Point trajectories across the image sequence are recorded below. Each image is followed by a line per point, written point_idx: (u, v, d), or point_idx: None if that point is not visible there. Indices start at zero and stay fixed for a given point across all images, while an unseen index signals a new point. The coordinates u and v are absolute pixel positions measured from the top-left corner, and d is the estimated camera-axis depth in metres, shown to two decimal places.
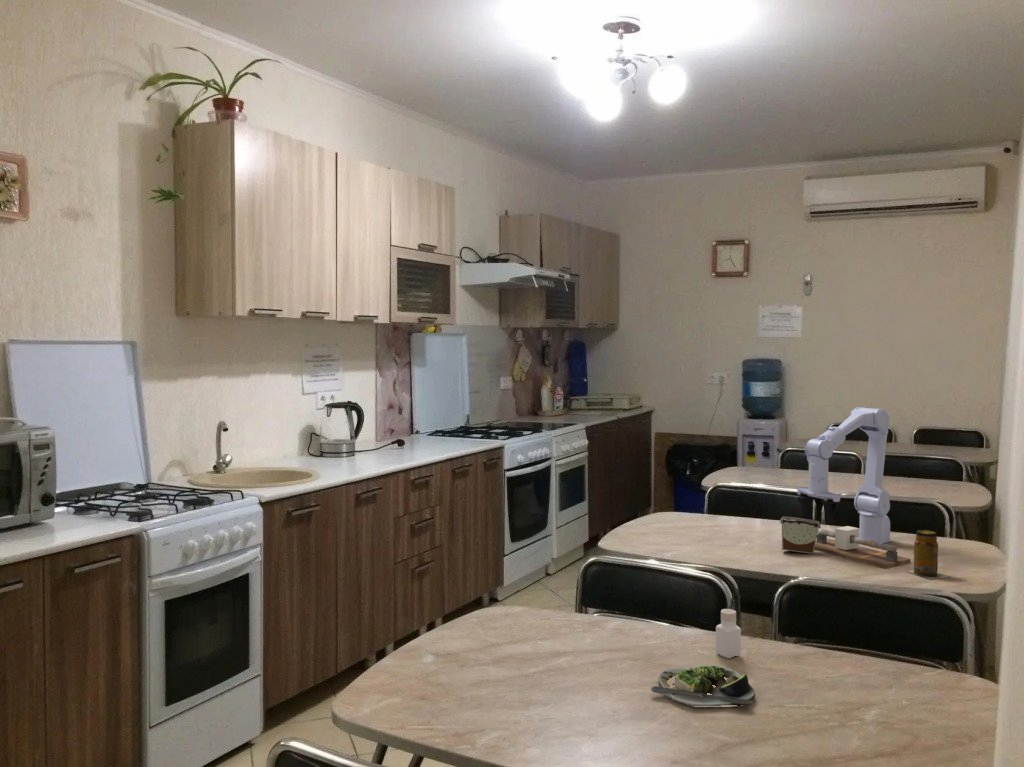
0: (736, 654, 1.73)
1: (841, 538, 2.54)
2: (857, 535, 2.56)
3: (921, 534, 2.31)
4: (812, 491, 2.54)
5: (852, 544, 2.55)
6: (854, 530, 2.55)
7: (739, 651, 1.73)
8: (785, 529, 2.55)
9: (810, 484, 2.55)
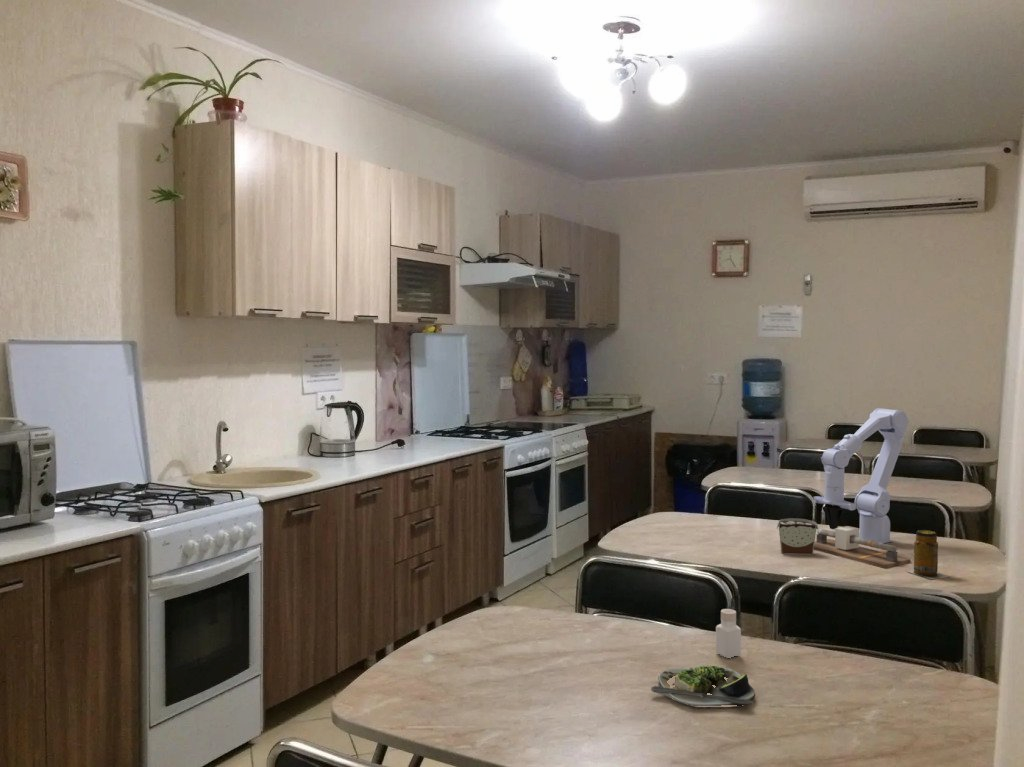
0: (736, 654, 1.73)
1: (841, 538, 2.54)
2: (857, 535, 2.56)
3: (921, 534, 2.31)
4: (828, 499, 2.61)
5: (852, 544, 2.55)
6: (854, 530, 2.55)
7: (739, 651, 1.73)
8: (783, 533, 2.55)
9: (826, 493, 2.62)
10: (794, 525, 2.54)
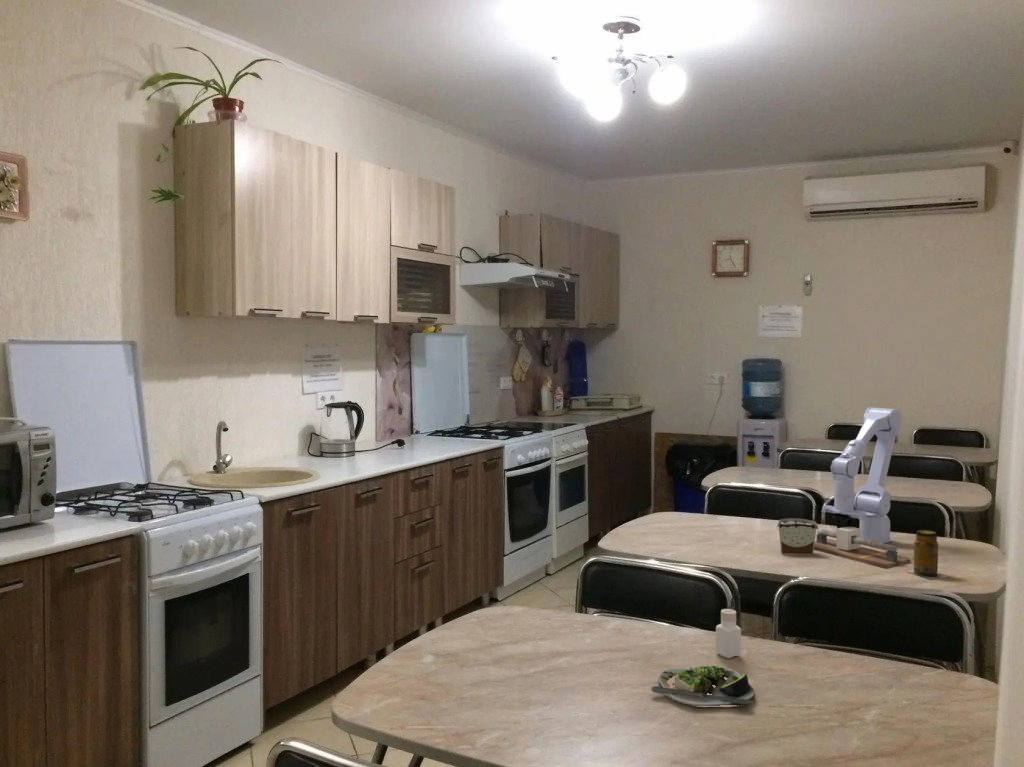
0: (736, 654, 1.73)
1: (842, 538, 2.54)
2: (859, 535, 2.55)
3: (921, 534, 2.31)
4: (838, 509, 2.58)
5: (853, 544, 2.54)
6: (855, 530, 2.54)
7: (739, 651, 1.73)
8: (783, 533, 2.55)
9: (836, 502, 2.59)
10: (794, 525, 2.54)
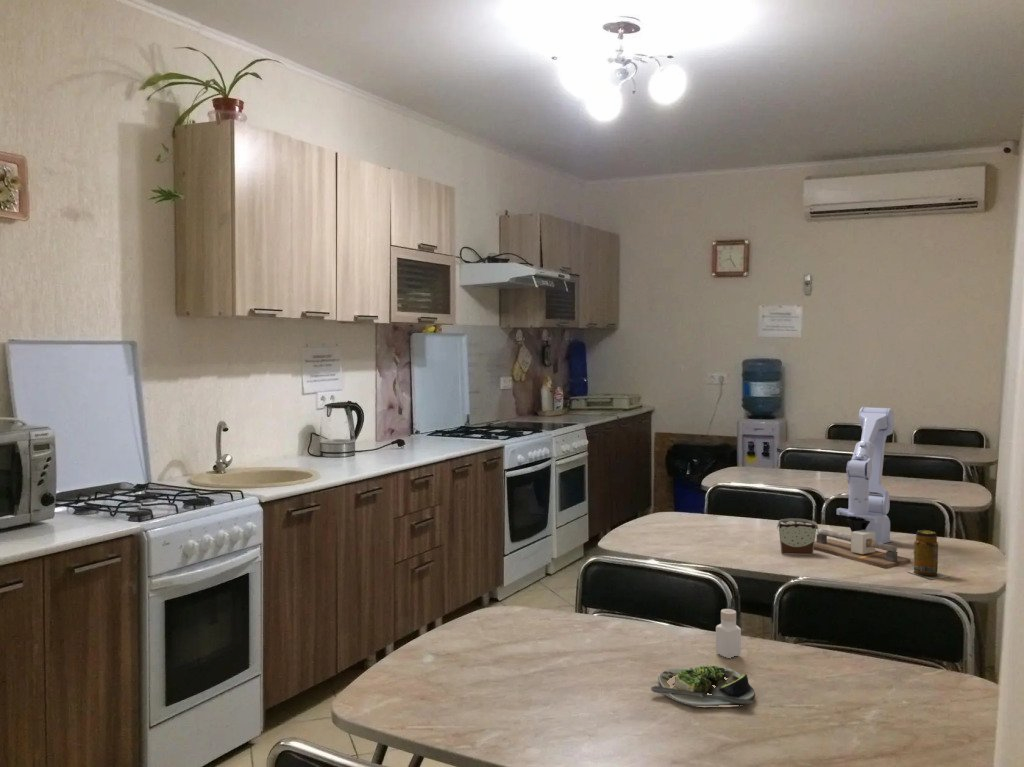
0: (736, 654, 1.73)
1: (857, 542, 2.49)
2: (874, 539, 2.51)
3: (921, 534, 2.31)
4: (852, 512, 2.54)
5: (868, 548, 2.50)
6: (870, 534, 2.50)
7: (739, 651, 1.73)
8: (783, 533, 2.55)
9: (850, 505, 2.55)
10: (794, 525, 2.54)
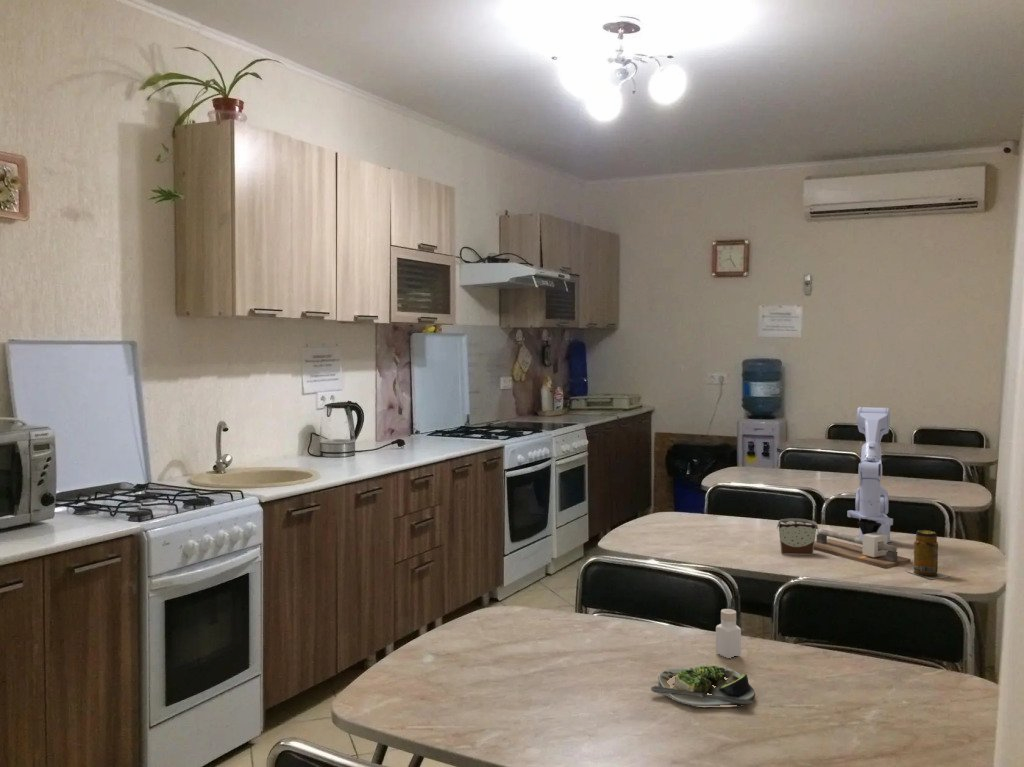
0: (736, 654, 1.73)
1: (869, 545, 2.46)
2: (886, 542, 2.47)
3: (921, 534, 2.31)
4: (863, 514, 2.50)
5: (880, 551, 2.46)
6: (882, 537, 2.46)
7: (739, 651, 1.73)
8: (783, 533, 2.55)
9: (861, 507, 2.51)
10: (794, 525, 2.54)
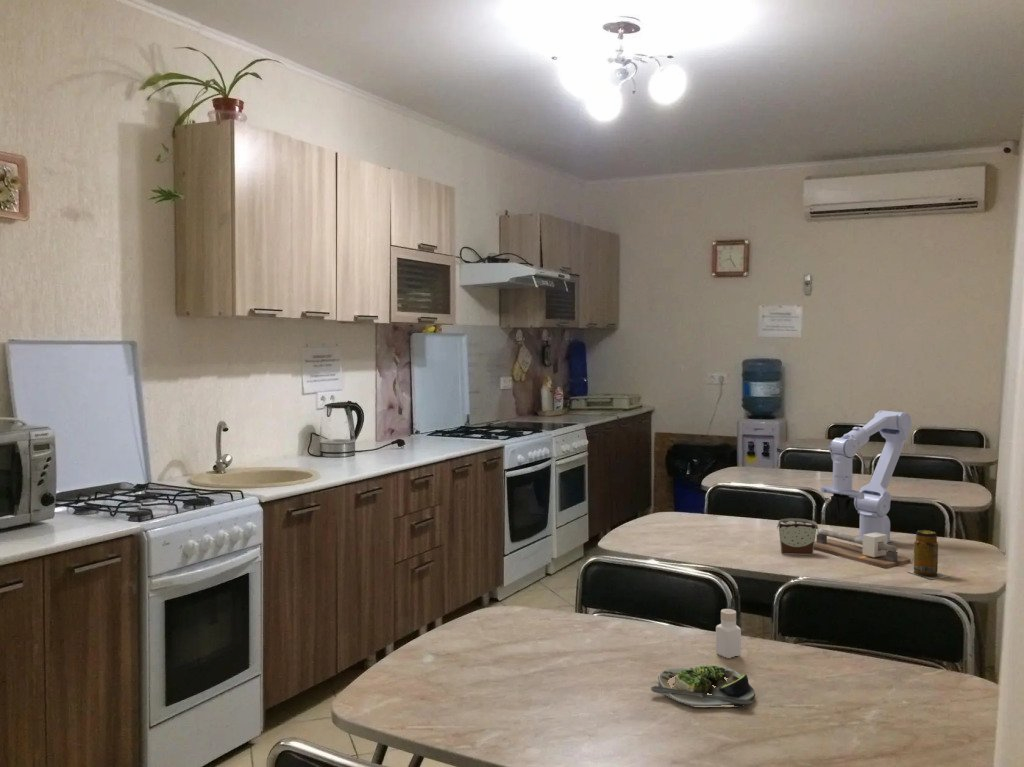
0: (736, 654, 1.73)
1: (869, 545, 2.46)
2: (886, 542, 2.47)
3: (921, 534, 2.31)
4: (836, 489, 2.60)
5: (880, 551, 2.46)
6: (882, 537, 2.46)
7: (739, 651, 1.73)
8: (783, 533, 2.55)
9: (834, 482, 2.61)
10: (794, 525, 2.54)
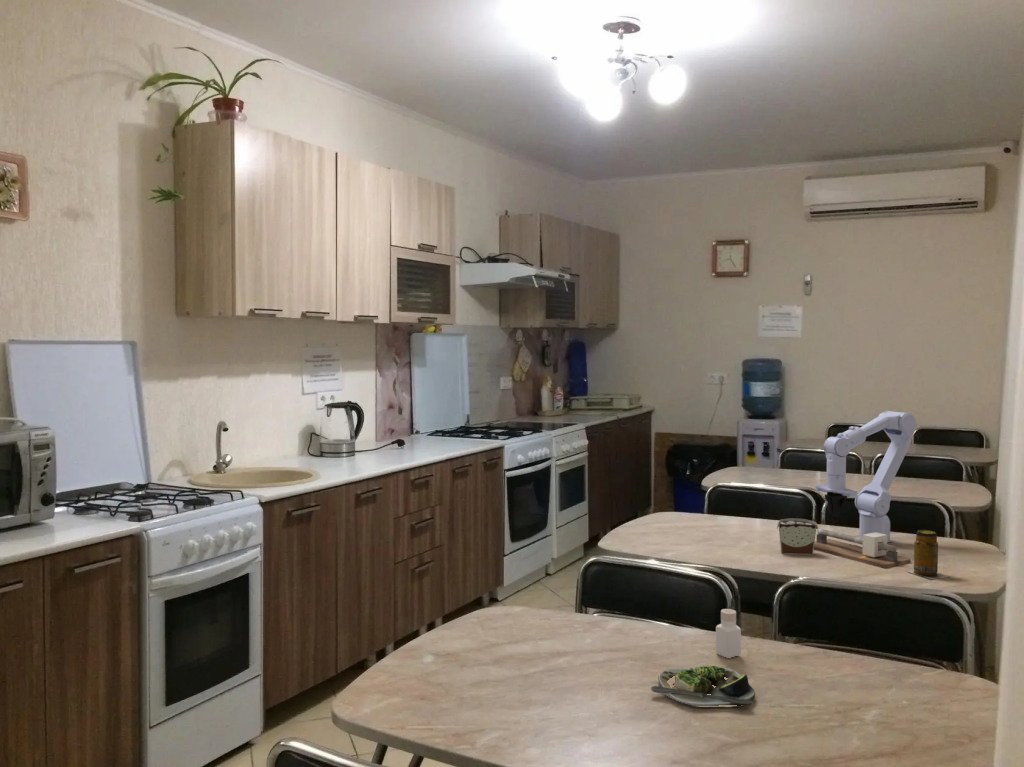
0: (736, 654, 1.73)
1: (869, 545, 2.46)
2: (886, 542, 2.47)
3: (921, 534, 2.31)
4: (830, 487, 2.62)
5: (880, 551, 2.46)
6: (882, 537, 2.46)
7: (739, 651, 1.73)
8: (783, 533, 2.55)
9: (828, 481, 2.63)
10: (794, 525, 2.54)
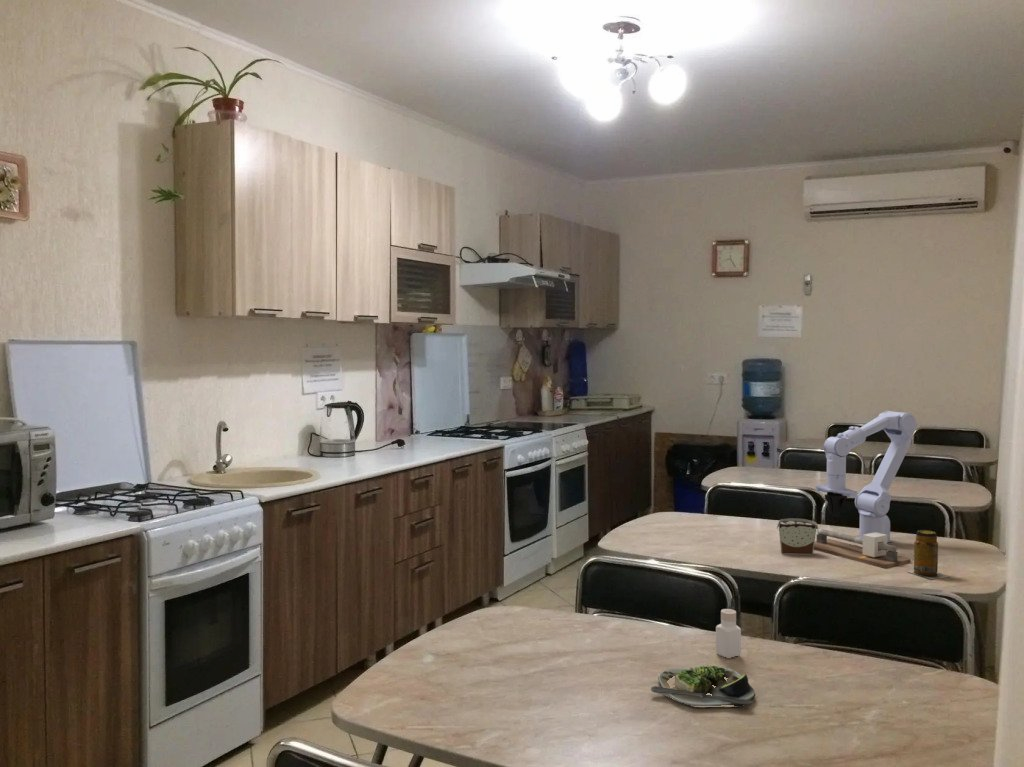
0: (736, 654, 1.73)
1: (869, 545, 2.46)
2: (886, 542, 2.47)
3: (921, 534, 2.31)
4: (830, 487, 2.62)
5: (880, 551, 2.46)
6: (882, 537, 2.46)
7: (739, 651, 1.73)
8: (783, 533, 2.55)
9: (828, 481, 2.63)
10: (794, 525, 2.54)
